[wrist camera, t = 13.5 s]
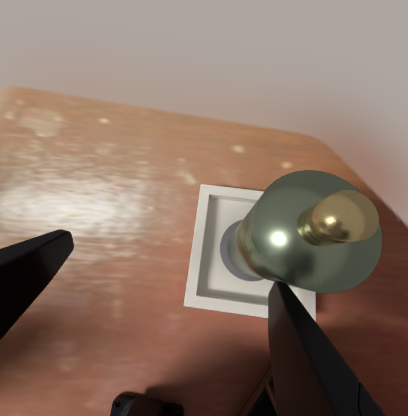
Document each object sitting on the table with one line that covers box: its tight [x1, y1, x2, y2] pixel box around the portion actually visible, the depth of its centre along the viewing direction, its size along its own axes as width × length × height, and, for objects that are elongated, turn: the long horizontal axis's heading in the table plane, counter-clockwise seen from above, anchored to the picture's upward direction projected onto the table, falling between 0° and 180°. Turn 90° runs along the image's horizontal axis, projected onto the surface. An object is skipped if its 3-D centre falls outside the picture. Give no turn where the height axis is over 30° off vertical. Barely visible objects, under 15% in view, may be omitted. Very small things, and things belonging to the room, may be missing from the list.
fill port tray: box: [184, 184, 316, 322], centre depth 20 cm, size 12×12×2 cm
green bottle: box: [227, 170, 382, 293], centre depth 13 cm, size 5×5×15 cm
